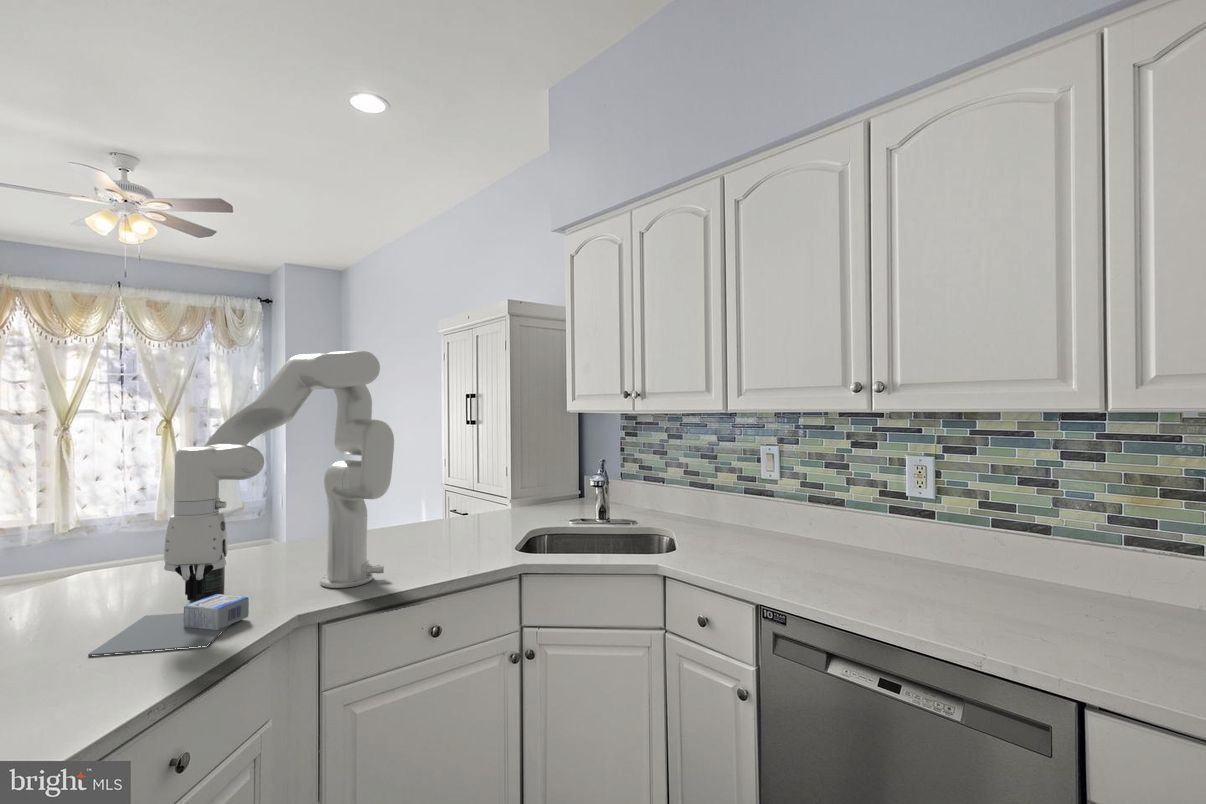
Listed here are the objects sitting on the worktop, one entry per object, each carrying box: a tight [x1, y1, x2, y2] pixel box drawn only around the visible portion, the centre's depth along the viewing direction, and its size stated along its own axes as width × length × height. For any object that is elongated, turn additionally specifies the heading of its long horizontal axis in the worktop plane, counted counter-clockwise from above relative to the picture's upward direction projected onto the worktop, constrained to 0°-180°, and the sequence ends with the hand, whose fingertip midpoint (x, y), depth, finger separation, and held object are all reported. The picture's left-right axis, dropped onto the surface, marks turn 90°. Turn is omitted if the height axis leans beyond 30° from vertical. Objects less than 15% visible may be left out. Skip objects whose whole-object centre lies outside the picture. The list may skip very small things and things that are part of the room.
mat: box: [87, 612, 230, 657], centre depth 118 cm, size 19×20×1 cm
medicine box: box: [183, 594, 250, 630], centre depth 122 cm, size 8×4×9 cm
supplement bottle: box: [188, 565, 226, 604], centre depth 137 cm, size 7×7×12 cm
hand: (195, 597), depth 119 cm, fingers closed
